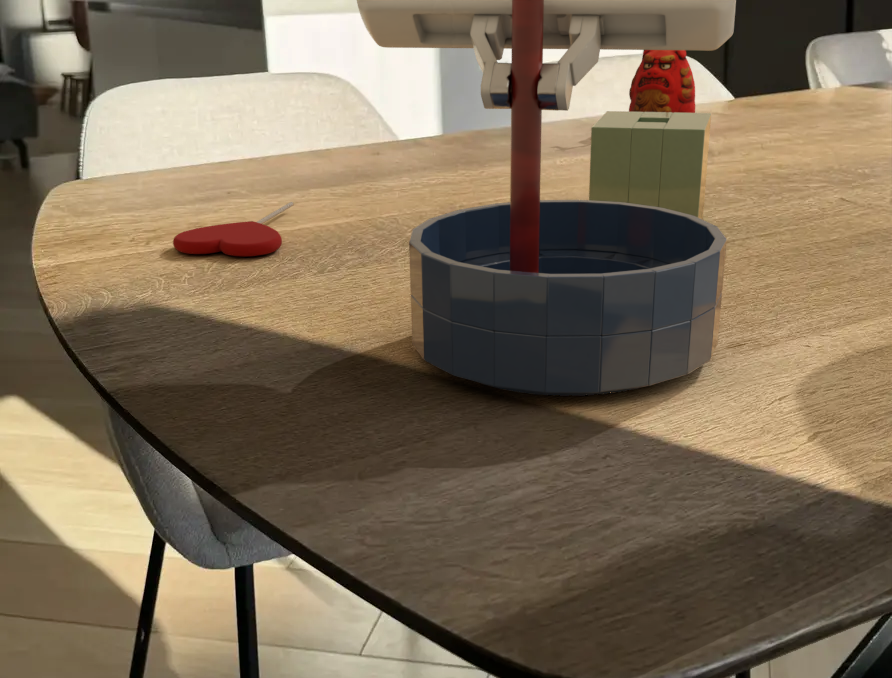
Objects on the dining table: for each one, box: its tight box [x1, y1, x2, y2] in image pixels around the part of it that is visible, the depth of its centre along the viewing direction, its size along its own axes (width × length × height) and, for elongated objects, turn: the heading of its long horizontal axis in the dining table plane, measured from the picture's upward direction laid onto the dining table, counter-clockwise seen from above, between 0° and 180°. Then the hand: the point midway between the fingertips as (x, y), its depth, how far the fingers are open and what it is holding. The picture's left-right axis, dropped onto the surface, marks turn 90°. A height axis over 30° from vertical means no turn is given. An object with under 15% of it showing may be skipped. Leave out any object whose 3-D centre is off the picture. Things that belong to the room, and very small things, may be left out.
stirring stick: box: [509, 0, 544, 273], centre depth 59 cm, size 2×2×16 cm
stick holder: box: [588, 110, 712, 220], centre depth 84 cm, size 8×8×8 cm
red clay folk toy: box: [628, 50, 696, 113], centre depth 124 cm, size 8×7×15 cm
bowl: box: [408, 199, 728, 397], centre depth 59 cm, size 16×16×6 cm
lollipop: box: [172, 201, 295, 257], centre depth 86 cm, size 8×1×15 cm
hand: (524, 102), depth 57 cm, fingers closed on stirring stick, 1 cm apart
